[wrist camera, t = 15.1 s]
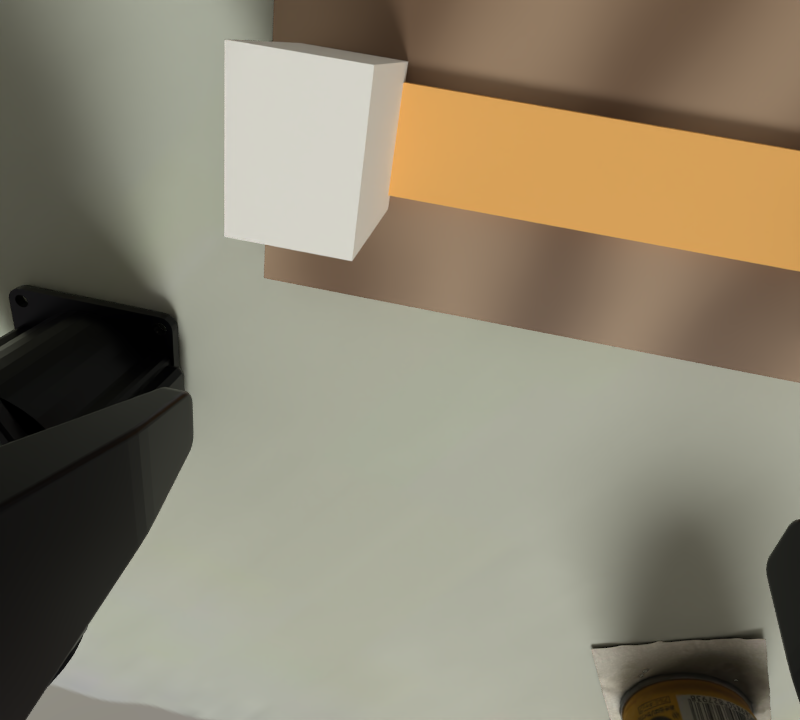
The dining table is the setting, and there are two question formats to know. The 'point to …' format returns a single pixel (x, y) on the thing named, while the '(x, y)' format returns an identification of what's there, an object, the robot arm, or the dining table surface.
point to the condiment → (686, 680)
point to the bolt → (478, 162)
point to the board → (594, 94)
